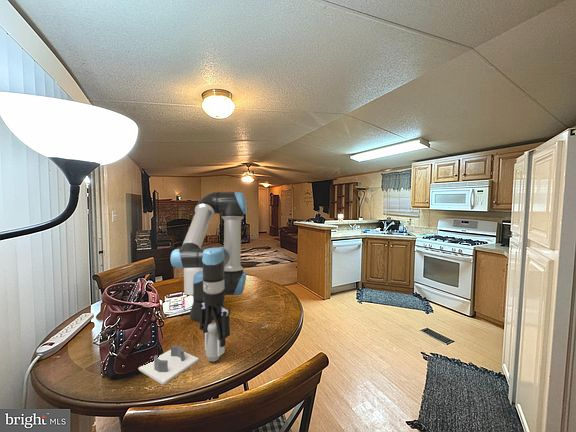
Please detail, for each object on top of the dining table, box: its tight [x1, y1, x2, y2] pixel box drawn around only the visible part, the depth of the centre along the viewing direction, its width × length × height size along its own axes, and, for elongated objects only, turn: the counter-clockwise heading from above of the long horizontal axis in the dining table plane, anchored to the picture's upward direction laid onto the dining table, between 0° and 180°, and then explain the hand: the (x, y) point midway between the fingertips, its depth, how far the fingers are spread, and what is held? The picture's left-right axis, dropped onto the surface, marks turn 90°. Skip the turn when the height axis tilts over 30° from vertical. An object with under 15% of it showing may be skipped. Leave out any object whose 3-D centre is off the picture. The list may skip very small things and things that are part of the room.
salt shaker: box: [205, 321, 221, 363], centre depth 89 cm, size 6×6×13 cm
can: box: [183, 268, 203, 296], centre depth 158 cm, size 12×12×20 cm
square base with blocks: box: [137, 345, 199, 386], centre depth 86 cm, size 14×14×4 cm
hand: (214, 351), depth 89 cm, fingers closed on salt shaker, 6 cm apart
